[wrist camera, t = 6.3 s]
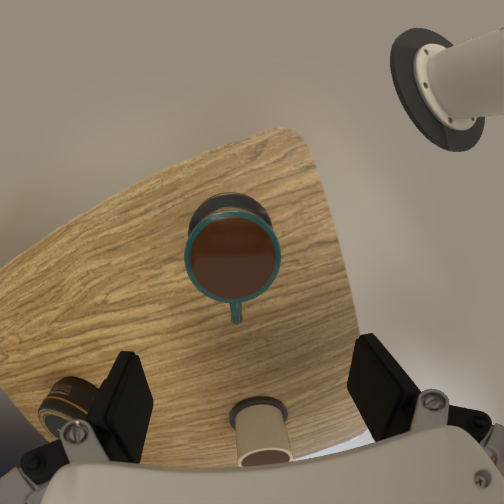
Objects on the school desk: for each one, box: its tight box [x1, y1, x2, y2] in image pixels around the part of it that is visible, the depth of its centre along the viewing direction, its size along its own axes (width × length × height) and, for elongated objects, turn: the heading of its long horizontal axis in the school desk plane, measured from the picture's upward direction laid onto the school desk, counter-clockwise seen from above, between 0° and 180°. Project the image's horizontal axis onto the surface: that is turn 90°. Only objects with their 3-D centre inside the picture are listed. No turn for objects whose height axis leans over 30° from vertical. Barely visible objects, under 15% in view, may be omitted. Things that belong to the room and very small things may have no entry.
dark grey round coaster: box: [229, 397, 288, 429], centre depth 33 cm, size 8×8×1 cm
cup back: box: [235, 404, 293, 467], centre depth 30 cm, size 9×7×8 cm
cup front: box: [184, 201, 281, 325], centre depth 23 cm, size 9×7×8 cm
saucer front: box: [188, 192, 273, 238], centre depth 26 cm, size 8×8×1 cm
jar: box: [38, 377, 99, 440], centre depth 27 cm, size 10×10×8 cm
